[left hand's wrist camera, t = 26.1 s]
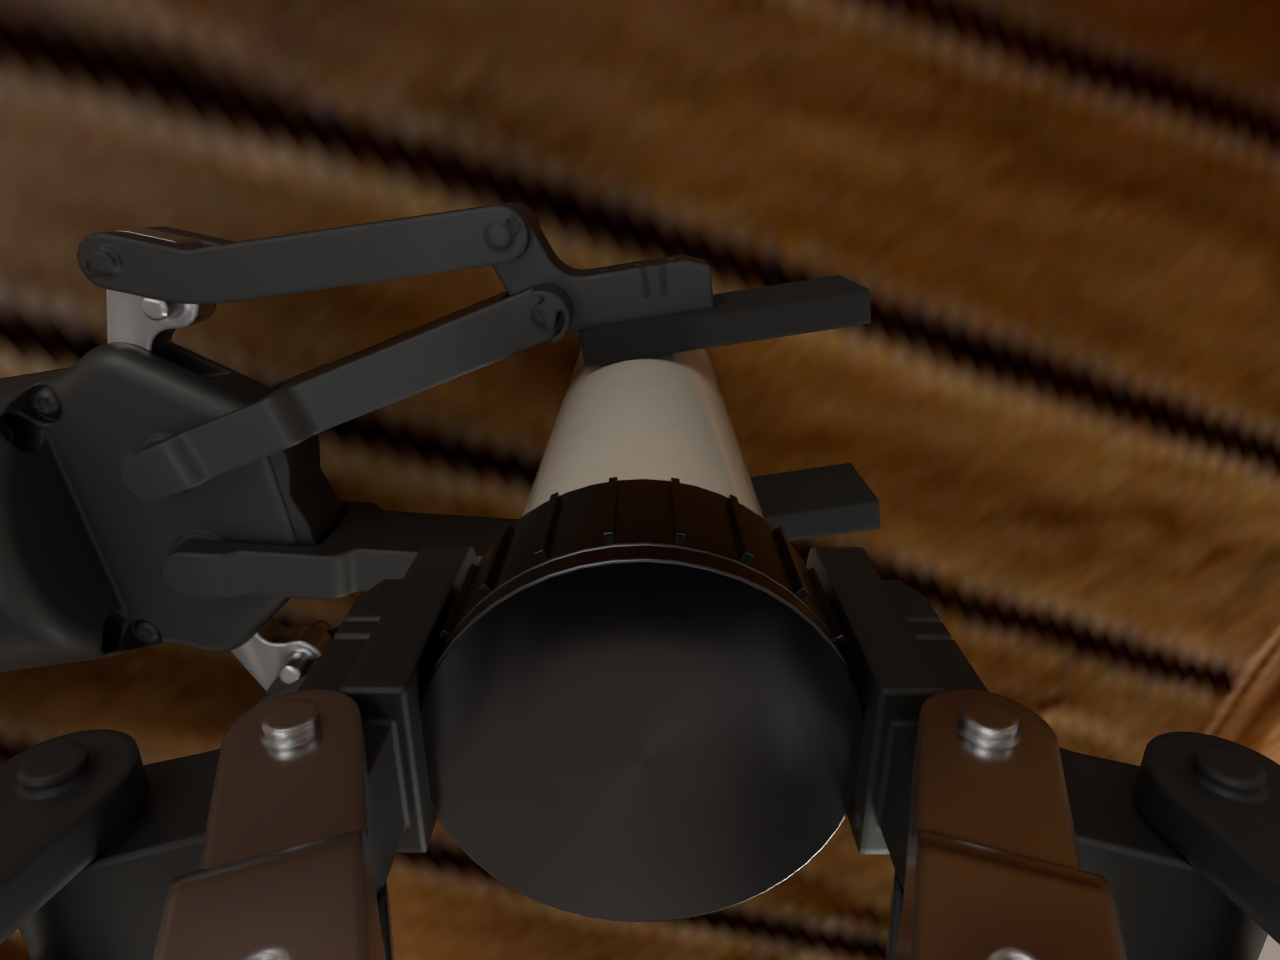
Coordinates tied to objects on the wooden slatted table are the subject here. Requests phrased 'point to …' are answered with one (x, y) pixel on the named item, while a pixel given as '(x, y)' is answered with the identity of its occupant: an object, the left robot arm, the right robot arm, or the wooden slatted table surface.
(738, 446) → the cream bottle
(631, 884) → the lid
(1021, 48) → the wooden slatted table surface
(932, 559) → the wooden slatted table surface
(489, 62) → the wooden slatted table surface
